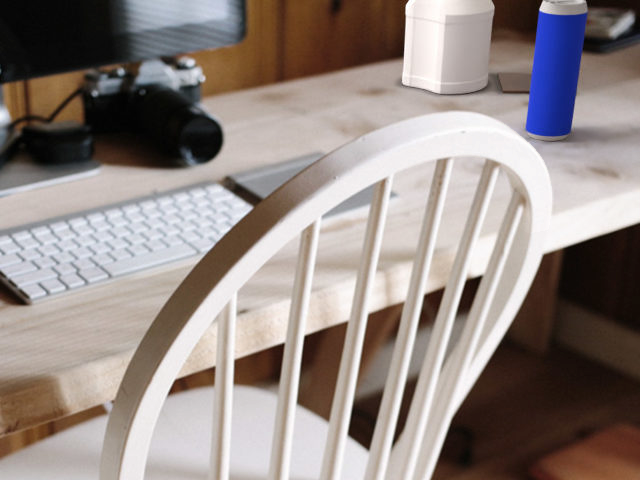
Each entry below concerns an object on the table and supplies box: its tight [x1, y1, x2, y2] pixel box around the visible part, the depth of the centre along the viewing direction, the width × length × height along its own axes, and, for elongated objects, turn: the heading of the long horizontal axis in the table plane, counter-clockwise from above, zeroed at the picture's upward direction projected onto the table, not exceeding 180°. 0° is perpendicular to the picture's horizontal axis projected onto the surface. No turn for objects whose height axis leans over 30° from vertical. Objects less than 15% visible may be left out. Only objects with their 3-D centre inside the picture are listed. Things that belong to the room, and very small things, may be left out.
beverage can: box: [525, 0, 589, 142], centre depth 116 cm, size 5×5×15 cm
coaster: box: [496, 72, 532, 94], centre depth 139 cm, size 9×9×1 cm
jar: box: [401, 0, 495, 95], centre depth 136 cm, size 12×10×15 cm
